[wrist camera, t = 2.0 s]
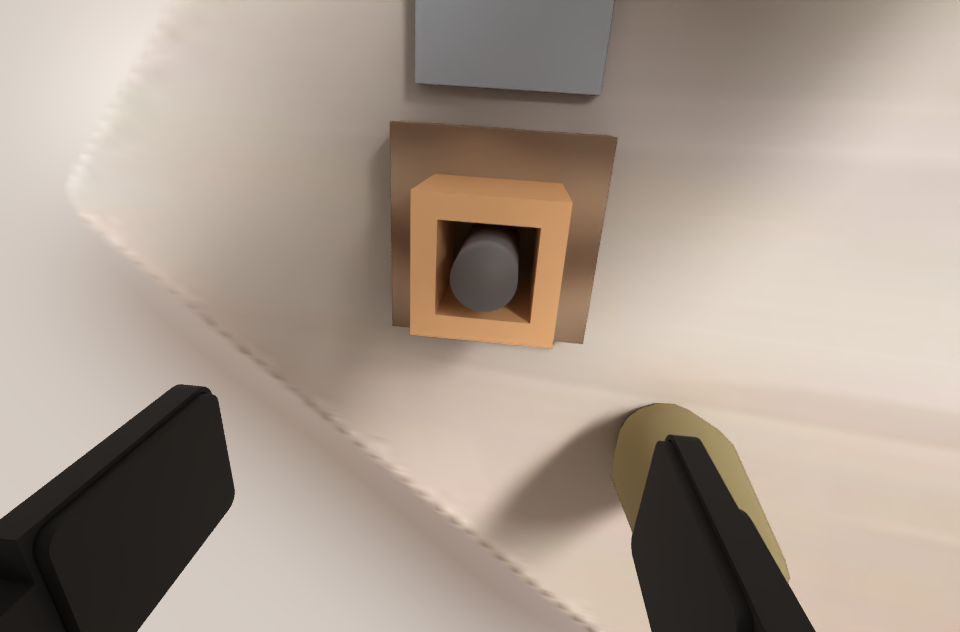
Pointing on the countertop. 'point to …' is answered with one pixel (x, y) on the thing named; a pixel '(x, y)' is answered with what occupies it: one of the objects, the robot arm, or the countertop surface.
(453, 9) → the pad
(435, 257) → the collar
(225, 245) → the countertop surface
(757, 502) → the squeeze bottle
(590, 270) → the stand
